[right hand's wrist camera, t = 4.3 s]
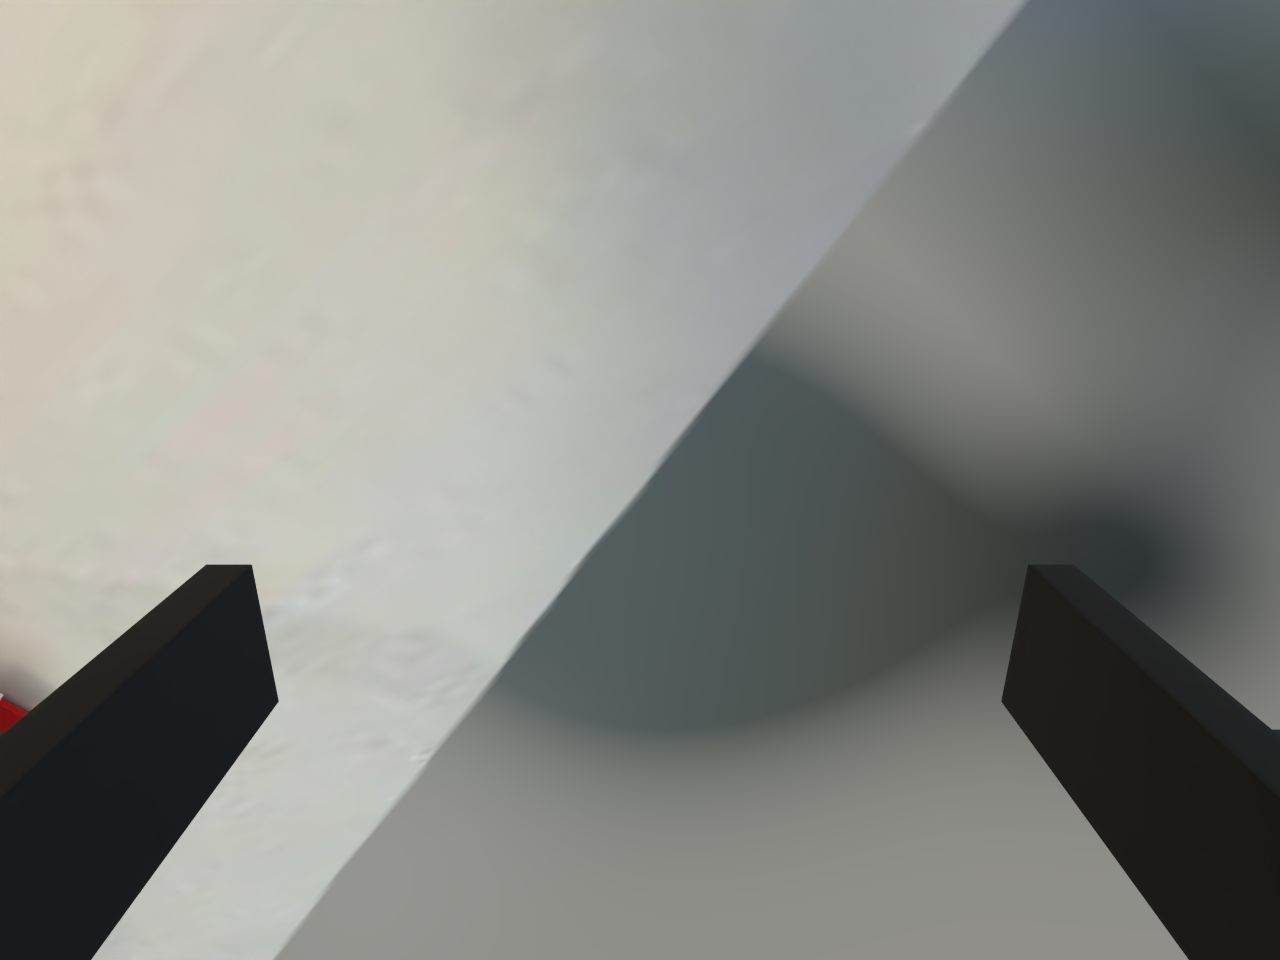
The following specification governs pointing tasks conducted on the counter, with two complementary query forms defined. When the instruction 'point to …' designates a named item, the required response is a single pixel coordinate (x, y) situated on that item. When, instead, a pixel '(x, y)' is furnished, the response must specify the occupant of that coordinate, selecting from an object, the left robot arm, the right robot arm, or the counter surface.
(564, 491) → the counter surface
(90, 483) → the counter surface
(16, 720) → the toy
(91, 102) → the counter surface
